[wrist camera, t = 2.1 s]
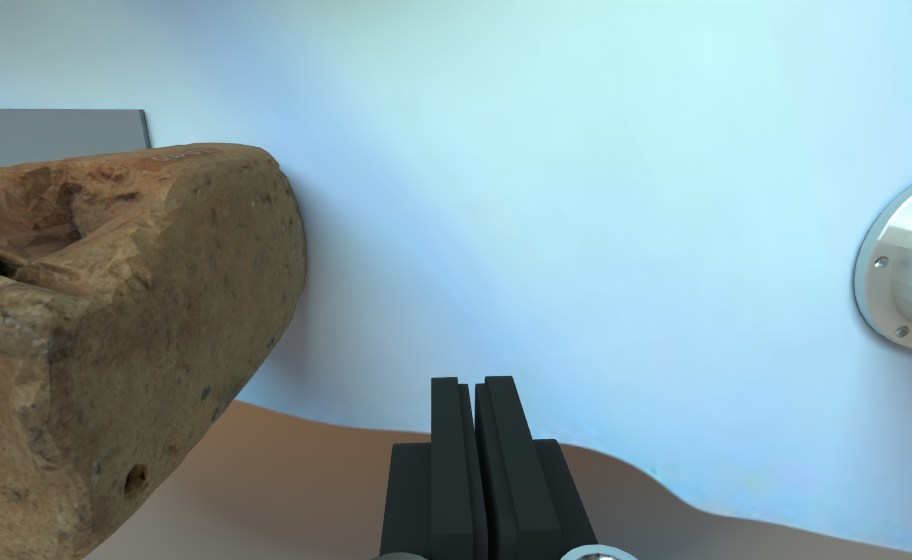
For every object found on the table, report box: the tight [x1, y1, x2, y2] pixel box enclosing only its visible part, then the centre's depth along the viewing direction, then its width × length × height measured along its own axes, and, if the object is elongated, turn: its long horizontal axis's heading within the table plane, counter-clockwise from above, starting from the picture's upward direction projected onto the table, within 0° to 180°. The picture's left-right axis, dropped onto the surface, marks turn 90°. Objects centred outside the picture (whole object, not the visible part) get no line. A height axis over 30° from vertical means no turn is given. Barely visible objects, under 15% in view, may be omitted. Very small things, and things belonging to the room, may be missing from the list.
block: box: [0, 143, 306, 560], centre depth 20 cm, size 11×8×20 cm
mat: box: [0, 109, 150, 167], centre depth 29 cm, size 18×12×1 cm, turn 90°
